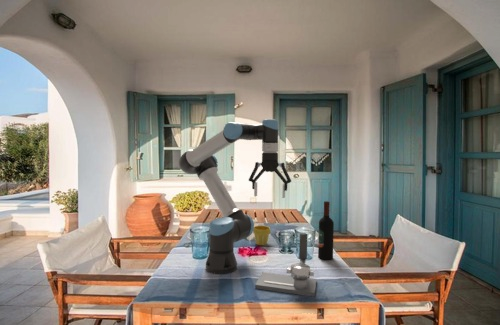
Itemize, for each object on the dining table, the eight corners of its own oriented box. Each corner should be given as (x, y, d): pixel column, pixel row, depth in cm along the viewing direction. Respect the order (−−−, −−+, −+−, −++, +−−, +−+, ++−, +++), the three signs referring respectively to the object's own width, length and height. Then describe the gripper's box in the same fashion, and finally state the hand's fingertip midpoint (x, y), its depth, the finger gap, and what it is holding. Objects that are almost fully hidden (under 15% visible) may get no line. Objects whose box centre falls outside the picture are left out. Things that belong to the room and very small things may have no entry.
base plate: (255, 288, 123) (255, 275, 122) (262, 275, 135) (262, 263, 135) (314, 296, 116) (314, 282, 116) (316, 282, 128) (316, 269, 128)
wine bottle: (330, 261, 152) (331, 203, 150) (316, 258, 156) (317, 202, 154) (334, 257, 158) (335, 201, 157) (320, 254, 162) (322, 200, 161)
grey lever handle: (291, 261, 136) (291, 232, 136) (315, 264, 133) (316, 234, 133) (285, 278, 118) (286, 244, 118) (313, 282, 116) (314, 247, 115)
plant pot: (273, 242, 181) (273, 226, 181) (264, 247, 173) (264, 230, 172) (258, 239, 187) (258, 224, 186) (249, 244, 178) (249, 228, 178)
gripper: (242, 152, 140) (242, 196, 141) (295, 152, 133) (294, 199, 134) (247, 151, 147) (246, 194, 148) (297, 152, 140) (296, 196, 141)
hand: (269, 196), depth 141 cm, fingers open, 13 cm apart
